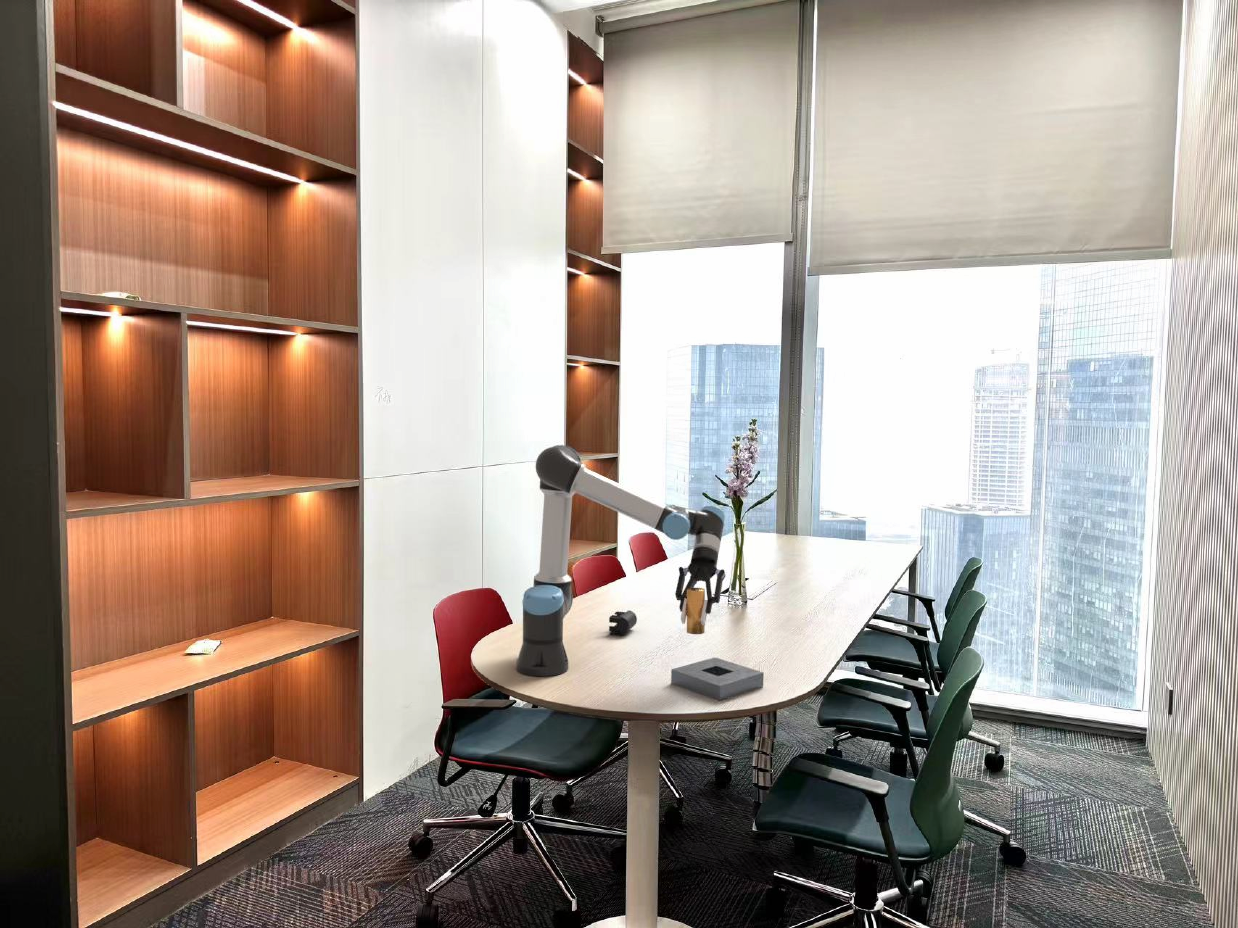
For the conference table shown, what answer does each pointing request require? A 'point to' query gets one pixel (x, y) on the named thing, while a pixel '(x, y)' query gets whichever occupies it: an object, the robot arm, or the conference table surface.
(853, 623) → the conference table surface
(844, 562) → the conference table surface
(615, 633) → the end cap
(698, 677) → the jig
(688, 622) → the bushing
